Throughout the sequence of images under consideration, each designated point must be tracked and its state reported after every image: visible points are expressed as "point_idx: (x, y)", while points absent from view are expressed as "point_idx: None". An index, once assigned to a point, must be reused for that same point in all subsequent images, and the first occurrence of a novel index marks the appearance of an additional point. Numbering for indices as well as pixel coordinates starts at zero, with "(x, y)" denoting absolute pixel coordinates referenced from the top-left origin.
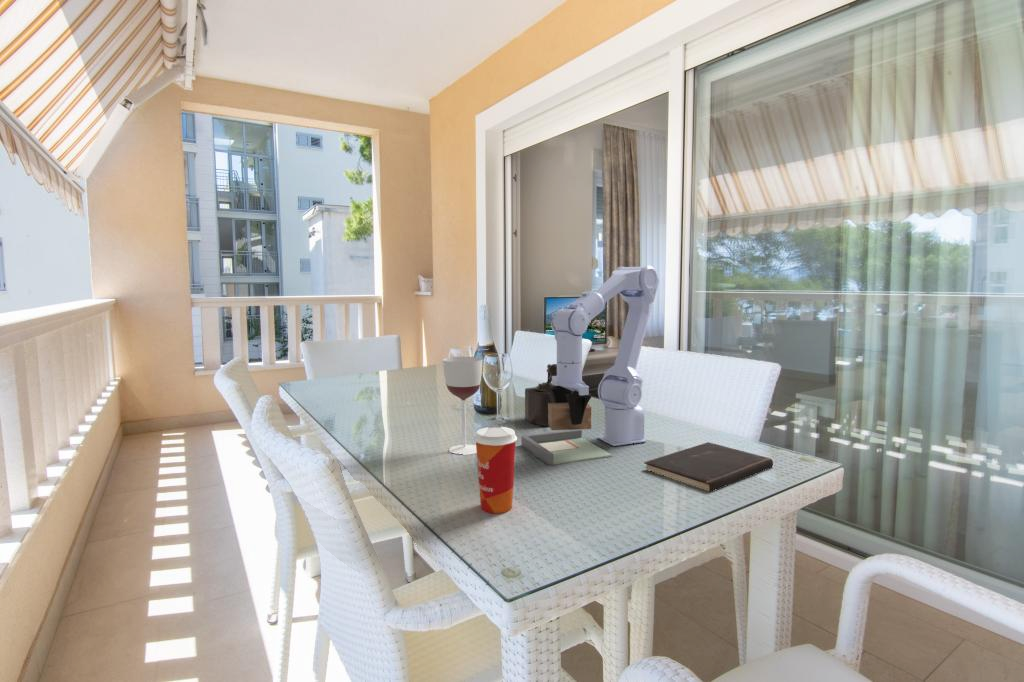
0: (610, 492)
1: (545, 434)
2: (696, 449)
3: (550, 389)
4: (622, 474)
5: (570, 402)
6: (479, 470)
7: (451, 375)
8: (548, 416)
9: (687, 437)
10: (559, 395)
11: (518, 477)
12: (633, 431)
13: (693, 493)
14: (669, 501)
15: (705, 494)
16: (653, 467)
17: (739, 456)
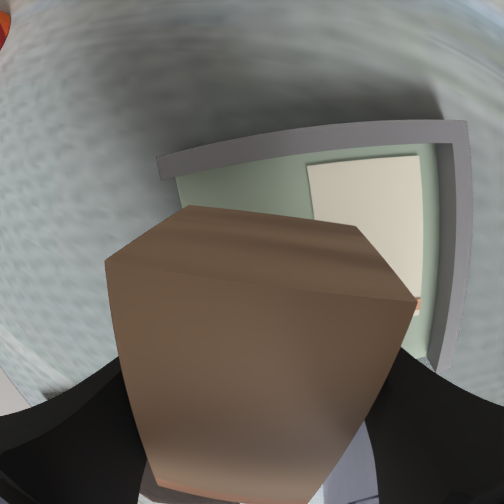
0: (12, 266)
1: (455, 232)
2: None
3: (502, 470)
4: (93, 338)
5: (18, 416)
6: None
7: None
8: (352, 242)
9: (317, 498)
10: (401, 470)
11: (94, 50)
12: None
13: (38, 381)
14: (6, 335)
15: (39, 390)
16: None
17: (160, 493)
